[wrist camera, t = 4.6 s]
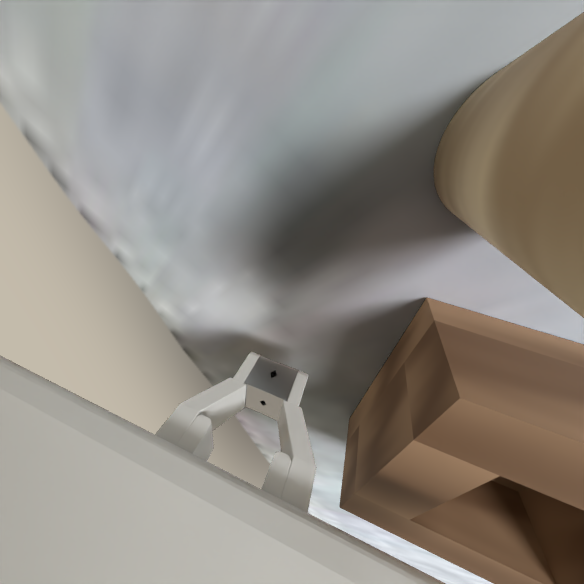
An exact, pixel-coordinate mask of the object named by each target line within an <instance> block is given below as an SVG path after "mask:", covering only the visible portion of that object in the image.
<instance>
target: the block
mask: <svg viewBox="0 0 584 584" xmlns="http://www.w3.org/2000/svg"><path fill="white" fill-rule="evenodd" d="M340 508H342V509H344V510H346V511H348V512H350V513H352V514H354V515H356V516H358V517H360V518H362V519H364V520H366V521H368V522H370V523H372V524H374V525H376V526H378V527H380V528H382V529H384V530H386V531H388V532H390V533H393V534H395V535H397V536H399V537H401V538H403V539H405V540H407V541H409V542H411V543H413V544H415V545H417V546H419V547H421V548H423V549H425V550H427V551H429V552H431V553H433V554H435V555H437V556H439V557H441V558H443V559H445V560H447V561H449V562H451V563H453V564H455V565H457V566H459V567H461V568H463V569H465V570H467V571H469V572H471V573H473V574H475V575H477V576H480V577H482V578H484V579H486V580H488V581H490V582H492V583H494V584H584V345H583V344H580V343H577V342H573V341H570V340H567V339H563V338H560V337H557V336H553V335H550V334H547V333H543V332H540V331H537V330H533V329H530V328H527V327H523V326H520V325H517V324H513V323H510V322H507V321H503V320H500V319H497V318H493V317H490V316H487V315H483V314H480V313H477V312H473V311H470V310H467V309H463V308H460V307H457V306H453V305H450V304H447V303H443V302H440V301H437V300H433V299H430V298H426V299H425V301H424V303H423V304H422V306H421V307H420V309H419V310H418V312H417V313H416V315H415V317H414V318H413V320H412V321H411V323H410V324H409V326H408V328H407V329H406V331H405V332H404V334H403V335H402V337H401V339H400V340H399V342H398V343H397V345H396V346H395V348H394V350H393V351H392V353H391V354H390V356H389V357H388V359H387V361H386V362H385V364H384V365H383V367H382V368H381V370H380V372H379V373H378V375H377V376H376V378H375V379H374V381H373V383H372V384H371V386H370V387H369V389H368V390H367V392H366V394H365V395H364V397H363V398H362V400H361V401H360V403H359V404H358V406H357V408H356V409H355V411H354V412H353V414H352V415H351V417H350V419H349V427H348V436H347V444H346V453H345V462H344V471H343V480H342V489H341V498H340Z"/></svg>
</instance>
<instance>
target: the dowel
mask: <svg viewBox="0 0 584 584" xmlns="http://www.w3.org/2000/svg"><path fill="white" fill-rule="evenodd" d="M434 183H435V188H436V191H437V194H438V196H439V198H440V200H441V201H442V203H443V204H444V206H445V207H446V208H447V209H448V210H449V211H450V212H451V213H453V214H454V215H455V216H456V217H458V218H459V219H460V220H461V221H463V222H464V223H465V224H466V225H468V226H469V227H470V228H472V229H473V230H474V231H475V232H477V233H478V234H479V235H480V236H482V237H483V238H484V239H485V240H487V241H488V242H489V243H490V244H492V245H493V246H494V247H495V248H497V249H498V250H499V251H500V252H502V253H503V254H504V255H505V256H507V257H508V258H509V259H510V260H512V261H513V262H514V263H515V264H517V265H518V266H519V267H520V268H522V269H523V270H524V271H525V272H527V273H528V274H529V275H530V276H532V277H533V278H534V279H535V280H537V281H538V282H539V283H540V284H542V285H543V286H544V287H546V288H547V289H548V290H549V291H551V292H552V293H553V294H554V295H556V296H557V297H558V298H559V299H561V300H562V301H563V302H564V303H566V304H567V305H568V306H569V307H571V308H572V309H573V310H574V311H576V312H577V313H578V314H579V315H581V316H582V317H583V318H584V12H583V13H582V14H580V15H579V16H577V17H576V18H574V19H573V20H572V21H570V22H569V23H567V24H566V25H564V26H563V27H561V28H560V29H559V30H557V31H556V32H554V33H553V34H551V35H550V36H549V37H547V38H546V39H544V40H543V41H541V42H540V43H538V44H537V45H536V46H534V47H533V48H531V49H530V50H528V51H527V52H525V53H524V54H523V55H521V56H520V57H518V58H517V59H515V60H514V61H513V62H511V63H510V64H508V65H507V66H505V67H504V68H502V69H501V70H500V71H498V72H497V73H496V74H494V75H493V76H492V77H490V78H489V79H488V80H486V81H485V82H484V83H483V84H482V85H481V86H480V87H479V88H477V89H476V90H475V91H474V92H473V93H472V94H471V95H470V97H469V98H468V99H467V100H466V101H465V102H464V103H463V104H462V106H461V107H460V108H459V110H458V111H457V112H456V113H455V115H454V116H453V118H452V120H451V121H450V123H449V124H448V126H447V128H446V130H445V132H444V134H443V136H442V138H441V141H440V143H439V146H438V149H437V152H436V156H435V162H434Z"/></svg>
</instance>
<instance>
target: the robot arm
mask: <svg viewBox="0 0 584 584" xmlns="http://www.w3.org/2000/svg"><path fill="white" fill-rule="evenodd" d="M308 376H309V374H307V373H304V372H302V371H299V370H297V369H295V368H292V367H289V366H287V365H284V364H281V363H278V362H275V361H273V360H271V359H268V358H266V357H263V356H261V355H259V354H256V353H254V352H251V353H249V355H248V356H247V358H246V359H245V361H244V362H243V364H242V365H241V367H240V368H239V370H238V371H237V373H236V374H235V376H234V377H233V378H228V379H226V380H224V381H222V382H220V383H218V384H216V385H214V386H212V387H211V388H209V389H207V390H205V391H203V392H201V393H199V394H197V395H195V396H193V397H191V398H189V399H187V400H185V401H183V402H182V403H180V404H179V405H178V407H177V408H176V409H175V410H174V412H173V413H172V414H171V415H170V417H169V418H168V419H167V420H166V422H165V423H164V424H163V425H162V426H161V428H160V429H159V430H158V431H157V433H156V434H155V435H154V434H152V433H150V432H148V431H146V430H145V429H143V428H141V427H139V426H137V425H135V424H133V423H131V422H129V421H127V420H125V419H123V418H121V417H119V416H117V415H115V414H113V413H111V412H109V411H107V410H105V409H104V408H102V407H100V406H98V405H96V404H94V403H92V402H90V401H88V400H86V399H84V398H82V397H80V396H78V395H76V394H74V393H72V392H70V391H68V390H66V389H65V388H63V387H60V386H59V385H57V384H55V383H53V382H51V381H49V380H47V379H45V378H43V377H41V376H39V375H37V374H35V373H33V372H31V371H29V370H27V369H25V368H23V367H21V366H20V365H18V364H16V363H14V362H12V361H10V360H8V359H6V358H4V357H2V356H0V584H445V583H443V582H441V581H439V580H437V579H435V578H434V577H432V576H430V575H428V574H426V573H424V572H422V571H420V570H418V569H416V568H414V567H412V566H410V565H408V564H406V563H404V562H402V561H400V560H398V559H396V558H394V557H393V556H391V555H389V554H387V553H385V552H383V551H381V550H379V549H377V548H375V547H373V546H371V545H369V544H367V543H365V542H363V541H361V540H359V539H357V538H355V537H353V536H351V535H350V534H348V533H346V532H344V531H342V530H340V529H338V528H336V527H334V526H332V525H330V524H328V523H326V522H324V521H322V520H320V519H318V518H316V517H314V516H312V515H310V514H309V513H307V512H308V507H309V502H310V497H311V492H312V487H313V482H314V477H315V472H316V464H315V460H314V456H313V452H312V448H311V443H310V439H309V435H308V431H307V427H306V423H305V419H304V415H303V411H302V408H301V407H299V404H300V401H301V398H302V395H303V392H304V389H305V386H306V382H307V379H308ZM245 407H247V408H250V409H252V410H255V411H257V412H260V413H262V414H264V415H266V416H268V417H270V418H272V419H274V420H277V421H278V429H279V437H280V446H281V452H280V451H278V452H276V453H275V454H274V456H273V459H272V462H271V465H270V467H269V470H268V473H267V475H266V478H265V481H264V484H263V487H262V489H260V488H258V487H256V486H254V485H252V484H250V483H248V482H246V481H244V480H242V479H240V478H238V477H236V476H234V475H232V474H230V473H228V472H227V471H225V470H223V469H221V468H219V467H217V466H214V465H213V464H211V463H209V462H207V460H208V458H209V456H210V454H211V452H212V451H213V449H214V445H213V434H212V431H213V430H215V429H216V428H217V427H219V426H220V425H222V424H223V423H224V422H226V421H227V420H228V419H230V418H231V417H232V416H234V415H235V414H237V413H238V412H239V411H241V410H242V409H244V408H245Z"/></svg>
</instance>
